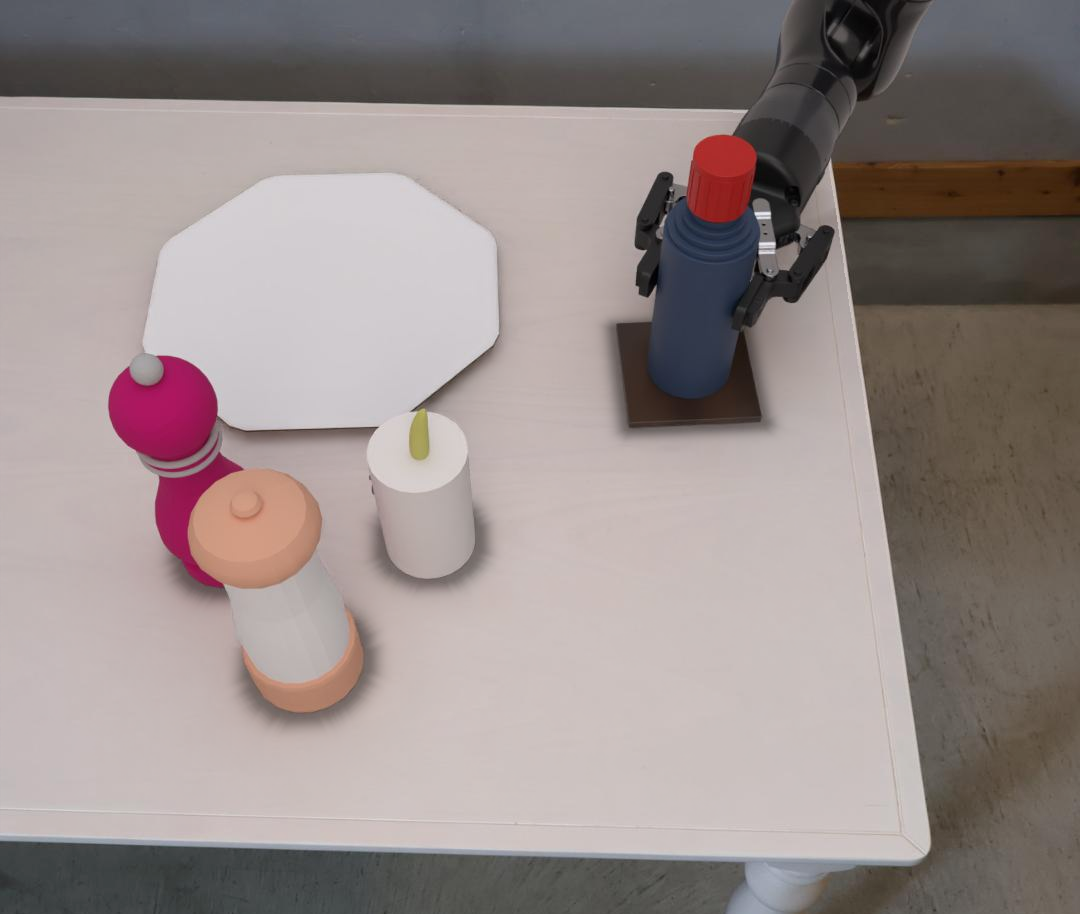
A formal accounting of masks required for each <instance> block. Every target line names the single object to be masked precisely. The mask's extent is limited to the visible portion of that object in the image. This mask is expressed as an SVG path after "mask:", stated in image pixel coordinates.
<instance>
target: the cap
mask: <svg viewBox="0 0 1080 914" xmlns="http://www.w3.org/2000/svg"><path fill="white" fill-rule="evenodd" d="M756 160H757V157H756V152H755V150H754V149H753V147H752V146H751V145H750V144H749V143H748V142H746V141H745V140H743V139H741V138H738V137H735V136H732V134H715V135H710V136H707V137H704V138H703V139H701V140H700V141H699V142H698V143H697V144H696V145H695V147H694V149H693V153H692V160H691V161H690V167H689V173H688V181H687V186H686V187H687V194H686V196H687V204H688V207H689V208H690V210H691V211H692V212H693V213H694V214H695V215H696V216H698V217H699V218H701V219H703V220H706V221H709V222H714V223H723V222H729V221H733V220H735V219H737V218H739V217H740V216H741V215H742V214H743V213H744V212H745V210H746V208H747V204H748V202H749V199H750V194H751V189H752V184H753V179H754V174H755V169H756V166H755V165H756Z"/></svg>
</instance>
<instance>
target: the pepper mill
mask: <svg viewBox="0 0 1080 914" xmlns="http://www.w3.org/2000/svg"><path fill="white" fill-rule="evenodd" d="M107 400H108V402H107V409H108V416H109V421H110V423H111V425H112V428H113V430H114V432H115V433H116V434H117V436H118V437H119V438H120V440H121V441H123V443H124V444H125V445H126V446H127V447H129V448H130V449H132V450H134V451H135V453H136V454H137V456H138V458H139V461H140V462H141V464H142V466H143V467H144V468H145V469H147V470H148V471H149V472H150V473H152V474H154V475H157V476H158V486H157V491H156V495H155V500H154V518H155V519H154V520H155V526H156V528H157V531H158V535H159V537H160V539H161V541H162V543H163V545H164V546H165V547H166V549H167V550H168V552H170V553H171V554H172V555H173V556H174V557H176V558H178V559H179V560H180V561H181V563H182V565H183V566H184V568H185V569H186V571H187V573H188V574H189V575H190V576H191V578H193V579H194V580H196V581H197V582H198V583H201V584H203V585H206V586H210V587H215V588H225V587H224V585H223V583H221V582H219V581H217V580H216V579H214V578H213V577H211V576H210V575H209V574H207V573H206V572H204V571H203V570H201V568H200V567H199V565H198V564H197V562H196V561H195V560H194V558H193V557H192V555H191V551H190V546H189V541H188V526H189V521H190V515H191V512H192V510H193V509H194V507H195V505H196V503H197V502H198V500H199V498H200V497H201V496H202V494H203V493H204V492H205V491H206V490H208V489H209V488H210V487H211V486H212V485H213V484H214V483H215V482H216V481H218V480H220V479H222V478H223V477H225V476H227V475H229V474H231V473H234V472H238V471H242V470H245V468H243V467H242V466H241V465H239V464H237V462H234V461H232V460H231V459H229V458H227V457H226V456H224V455H223V454H222V453H221V448H222V444H223V433H222V429H221V427H220V425H219V422H218V416H217V414H218V401H217V397H216V393H215V391H214V389H213V386H212V384H211V383H210V381H209V380H208V378H207V377H206V376H205V374H204V373H203V372H202V371H201V370H200V369H199V368H197V367H196V366H195V365H193V364H192V363H190V362H188V361H186V360H184V359H181V358H178V357H173V356H164V355H158V356H154V355H153V354H148V353H145V352H144V353H139V354H137V355H135V356H134V357H133V358H132V360H131V361H130V363H129V365H128V366H126V368H124V370H122V371H121V372H120V373H119V374H118V375H117V377H116V378H115V380H114V381H113V383H112V384H111V388H110V390H109V394H108V399H107Z"/></svg>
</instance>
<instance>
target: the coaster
mask: <svg viewBox="0 0 1080 914" xmlns="http://www.w3.org/2000/svg"><path fill="white" fill-rule="evenodd" d="M651 326H652V321H640V322H639V321H638V322H637V321H636V322H635V321H634V322H616V324H615V332H616V339H617V346H618V353H619V354H618V355H619V363H620V371H621V379H622V386H623V394H624V401H625V410H626V416H627V425H628V428H631V429H632V428H649V427H673V426H693V425H695V426H696V425H717V424H739V423H741V424H742V423H761V421H762V418H763V414H762V411H761V406H760V401H759V395H758V391H757V387H756V381H755V377H754V372H753V368H752V363H751V357H750V354H749V348H748V344H747V339H746V335H745V330H744V328H743V330H742V331H741V332H739V334H738V338H737V343H736V347H735V352H734V356H733V361H732V365H731V369H730V374H729V377H728V380H727V382H726V383H725V385H724V386H723V387H722V388H721V389H720V390H718V391H717V392H715V393H714V394H712V395H710V396H707V397H703V398H698V399H684V398H679V397H675V396H672V395H670V394H668V393H666V392H664V391H662V390H661V389H660V388H658V387H657V386H656V385H655V384H654V382H653V381H652V379H651V378H650V376H649V373H648V370H647V358H648V350H649V342H650V334H651Z"/></svg>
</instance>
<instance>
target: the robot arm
mask: <svg viewBox="0 0 1080 914" xmlns="http://www.w3.org/2000/svg"><path fill="white" fill-rule="evenodd" d="M935 1H936V0H792V2H791V4H790V5H789V7H788V9H787V12H786V14H785V17H784V19H783V21H782V25H781V29H780V32H779V37H778V42H777V49H776V59H775V65H774V70H773V74H772V75H771V77H770V79H769V81H768V82H767V84H766V86H765V87H764V88H763V91H762V92H761V94H760V95H759V97H758V98H757V100H756V101H755V102H754V103H753V104H752V105H751V106H750V108H748V110H747V111H746V112H745V113H744V115H743V117H742V118H741V119H740V120H739V121H740V122H739V123H738V124H737V126H736V128H735V130H734V131H733V133H732V134H731V136H735V137H738V138H741V139H743V140H745V141H746V142H748V143H749V144H750V145H751V146H752V147H753V149H754V150H755V152H756V157H757V160H756V165H755V166H756V169H755V174H754V179H753V184H752V189H751V194H750V199H749V202H748V204H747V205H748V206H749V207H750V208H751V209H752V211H753V212H754V214H755V216H756V218H757V221H758V223H759V226H760V232H761V233H760V240H759V245H758V249H757V254H756V258H755V263H754V267H753V271H752V276H751V280H750V284H749V286H748V288H747V289H746V291H745V293H744V295H743V296H742V298H741V300H740V302H739V304H738V306H737V308H736V310H735V314H734V318H733V323H732V327H731V329H734V330H737V331H739V332H741V331H742V330H743V329H744V328H745V327H748V328H752V327H753V326H755V325H756V324H757V322H758V320H759V319H760V317H761V315H762V313H763V311H764V309H765V307H766V306H767V303H768V302H769V300H772V298H782V300H783V301H784V302H786V303H789V304H795V303H798V302H799V301H800V299H801V297H802V296H803V295H804V293H805V292H806V290H807V289H808V287H809V286H810V284H811V283H812V282H813V280H814V279H815V277H816V276H817V275H818V273H819V271H820V270H821V269H822V267H823V265H824V264H825V262H826V261H827V260H828V257H829V253H830V251H831V247H832V244H833V240H834V237H835V233H836V230H835V228H833V227H832V226H831V225H827V224H823V225H820V226H819V227H818V228H817V230H815V229H814V228H811V227H808V226H806V225H804V224H801V216H802V214H803V212H804V210H805V208H806V206H807V205H808V203H809V202H810V201H809V200H810V199H811V197H812V195H813V194H814V192H815V190H816V188H817V186H819V184H820V183H821V181H822V180H823V178H824V176H825V174H826V169H827V168H828V166H829V164H830V162H831V159H832V156H833V153H834V150H835V147H836V144H837V142H838V140H839V139H840V137H841V135H842V133H843V131H844V130H845V127H846V126H847V124H848V122H849V120H850V119H851V117H852V115H853V112H854V110H855V107H856V104H857V103H860V102H866V101H870V100H872V99H875V98H877V97H879V96H880V95H882V94H883V93H884V92H885V91H886V90H887V89H888V88H890V86H891V85H892V83H893V82H894V81H895V79H896V77H897V76H898V74H899V73H900V70H901V68H902V66H903V64H904V62H905V60H906V58H907V55H908V52H909V50H910V48H911V46H912V42H913V40H914V37H915V35H916V32H917V30H918V28H919V26H920V24H921V22H922V21H923V19H924V17H925V15H926V14H927V12H928V11H929V9H930V7H931V6H932V5H933V4H934V2H935ZM687 187H688V186H686V185H683V184H679V183H674V175H673V174H672V172H669V171H661V172H659V173H658V174H657V176H656V178H655V180H654V181H653V184H652V186H651V188H650V190H649V191H648V194H647V196H646V198H645V200H644V202H643V204H642V205H641V206H642V207H641V208H640V211H639V212H638V215H637V216H636V222H635V230H634V231H635V233H634V243H633V246H634V248H636V249H637V250H639V251H645V252H644V254H643V256H642V257H641V259H640V261H639V262H638V264H637V265H636V272H635V283H634V285H635V287H638V296H640V297H643V298H646V299H649V297H650V296H651V294H652V292H653V291H654V289H656V286H657V278H658V270H659V262H660V254H661V245H662V237H663V229H664V225H663V226H661V224H662V222H663V221H664V218H665V216H667V215H668V213H669V212H670V211H671V210H672V208H673V207H674V206H675V205H676V204H677V203H678V202H679V201H681V200H682V199H684V198H686V197H687V196H686V194H687ZM793 243H795V244H796V245H797V250H796V253H797V255H798V256H797V258H796V259H795V261H794V262H793V263H792V265H791V266H790V268H789V270H787V269H779V268H780V267H779V264H778V259H777V252H776V251H777V250H779V249H783V248H785V247H788V246H790V245H791V244H793Z"/></svg>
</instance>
